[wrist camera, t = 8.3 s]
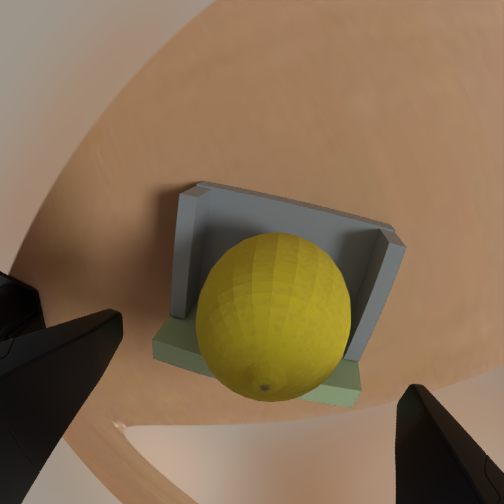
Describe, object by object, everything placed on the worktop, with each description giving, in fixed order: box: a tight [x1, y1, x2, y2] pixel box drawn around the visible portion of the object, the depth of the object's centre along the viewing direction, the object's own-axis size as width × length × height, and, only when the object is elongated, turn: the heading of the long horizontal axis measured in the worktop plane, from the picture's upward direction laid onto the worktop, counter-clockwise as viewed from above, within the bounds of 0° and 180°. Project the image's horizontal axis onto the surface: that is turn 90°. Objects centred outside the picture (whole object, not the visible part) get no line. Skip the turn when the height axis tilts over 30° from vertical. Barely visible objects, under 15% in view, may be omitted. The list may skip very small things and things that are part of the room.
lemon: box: [196, 232, 351, 402], centre depth 11 cm, size 6×6×8 cm
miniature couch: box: [153, 181, 406, 408], centre depth 14 cm, size 10×8×5 cm
